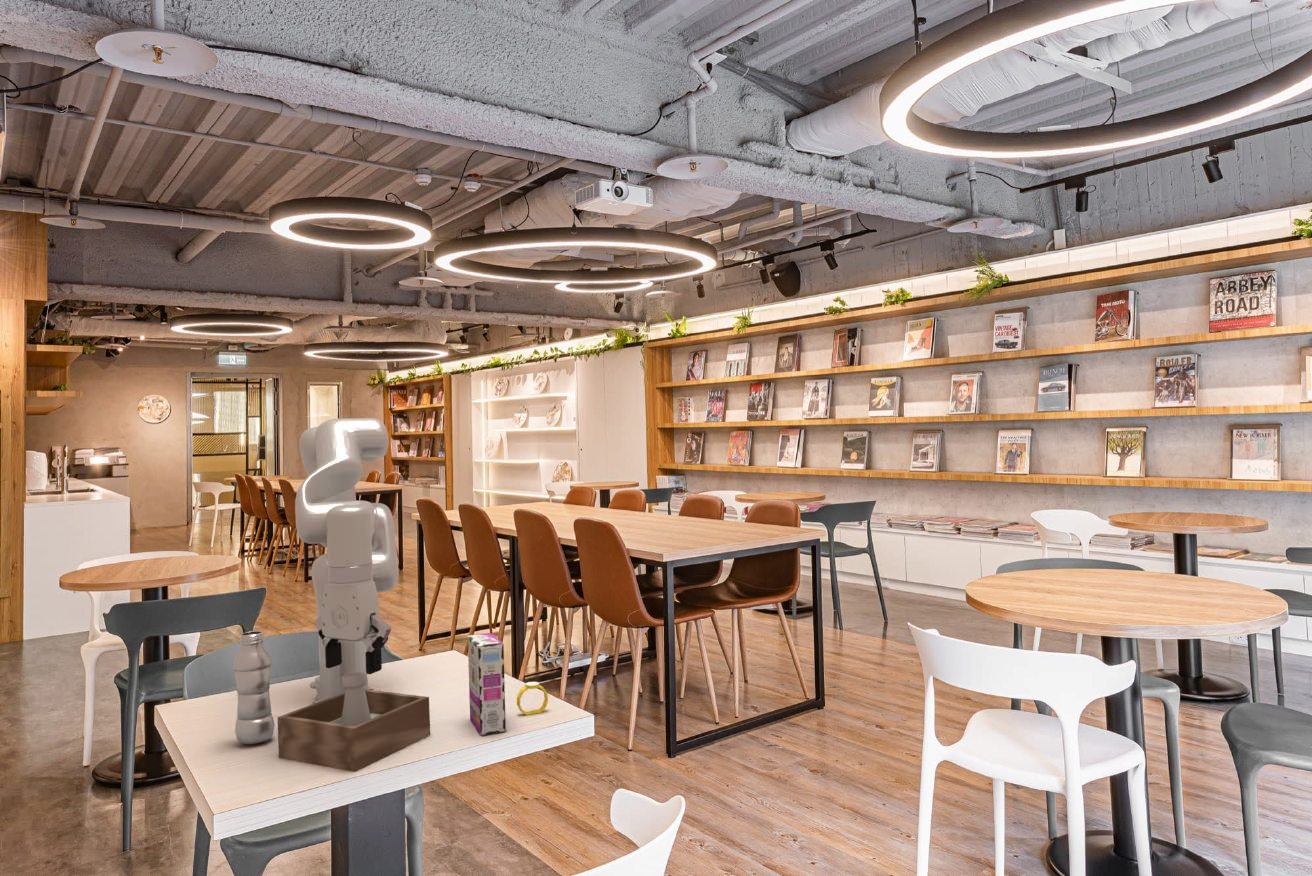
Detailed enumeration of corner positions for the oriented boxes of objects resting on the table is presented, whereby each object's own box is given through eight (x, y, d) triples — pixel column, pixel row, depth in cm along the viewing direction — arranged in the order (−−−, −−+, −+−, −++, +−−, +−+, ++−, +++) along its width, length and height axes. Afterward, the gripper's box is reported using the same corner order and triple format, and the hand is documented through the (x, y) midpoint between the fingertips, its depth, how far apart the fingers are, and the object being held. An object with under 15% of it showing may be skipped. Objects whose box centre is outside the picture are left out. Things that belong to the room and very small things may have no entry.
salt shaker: (361, 752, 144) (359, 677, 144) (332, 750, 145) (330, 676, 145) (379, 740, 150) (377, 668, 150) (351, 739, 151) (349, 668, 151)
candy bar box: (508, 732, 151) (504, 642, 152) (480, 737, 149) (477, 646, 150) (494, 715, 162) (491, 631, 162) (469, 719, 160) (466, 634, 160)
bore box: (278, 757, 143) (277, 717, 143) (357, 724, 159) (356, 688, 159) (355, 771, 135) (354, 728, 135) (430, 735, 151) (428, 697, 151)
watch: (544, 710, 164) (545, 680, 165) (548, 714, 162) (549, 683, 162) (515, 713, 162) (516, 682, 162) (518, 717, 159) (519, 686, 160)
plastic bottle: (249, 751, 147) (245, 638, 147) (227, 745, 150) (224, 635, 151) (282, 739, 152) (278, 631, 153) (260, 734, 156) (257, 628, 156)
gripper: (299, 575, 148) (302, 669, 148) (371, 581, 141) (374, 680, 141) (331, 568, 155) (334, 658, 155) (402, 573, 147) (405, 668, 148)
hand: (353, 669), depth 148 cm, fingers open, 9 cm apart
